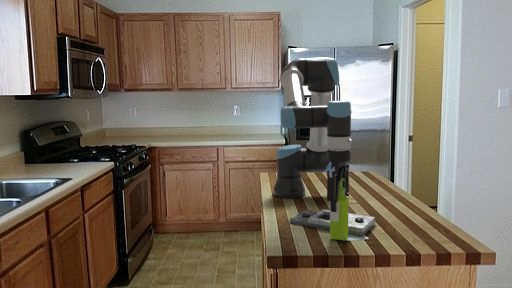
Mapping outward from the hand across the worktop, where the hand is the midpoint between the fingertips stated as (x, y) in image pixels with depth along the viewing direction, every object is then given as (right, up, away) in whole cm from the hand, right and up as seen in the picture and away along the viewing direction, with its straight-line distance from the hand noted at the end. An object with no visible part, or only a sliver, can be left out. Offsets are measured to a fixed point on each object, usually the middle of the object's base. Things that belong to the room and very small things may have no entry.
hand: (338, 217), depth 134 cm
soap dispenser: (0, -7, +1) cm, 7 cm away
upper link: (+4, -5, +14) cm, 16 cm away
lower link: (-2, -5, +18) cm, 19 cm away
